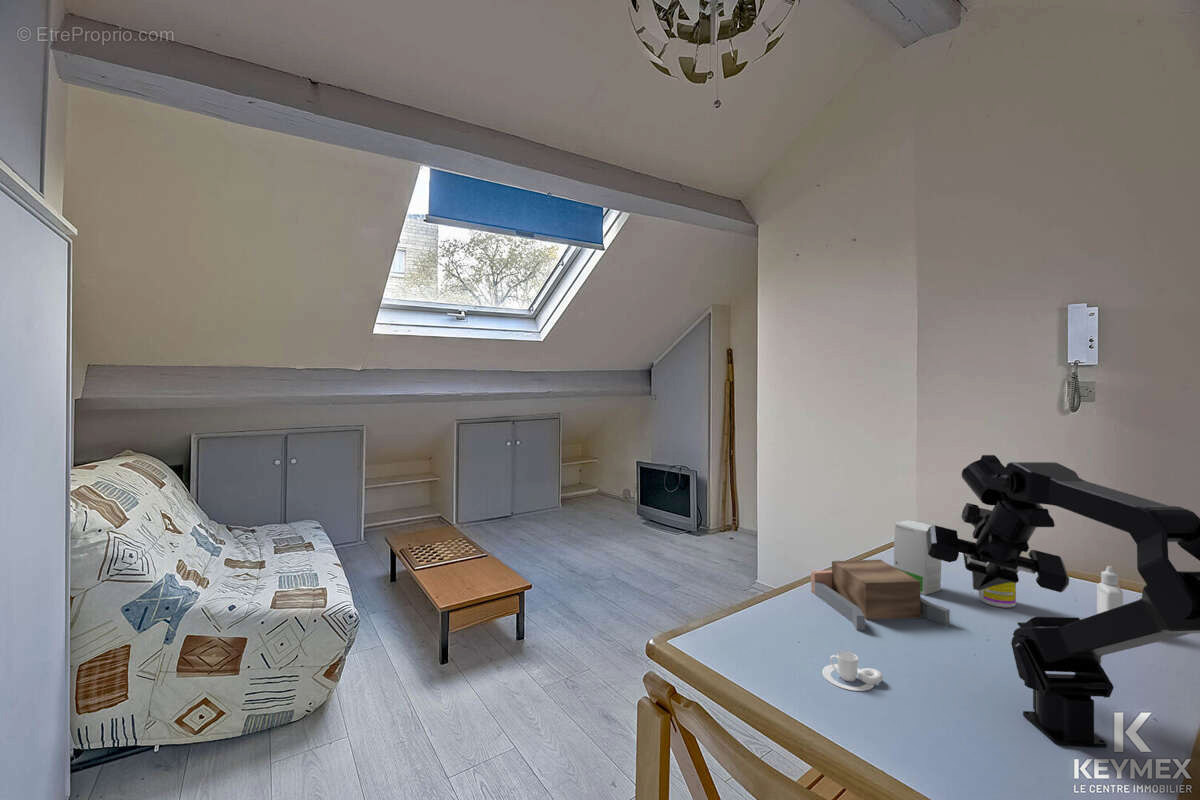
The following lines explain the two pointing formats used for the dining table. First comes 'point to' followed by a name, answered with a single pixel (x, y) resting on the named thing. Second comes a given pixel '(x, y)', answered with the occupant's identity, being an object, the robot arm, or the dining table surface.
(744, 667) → the dining table surface
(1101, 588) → the eye dropper bottle
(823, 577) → the box pocket
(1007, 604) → the supplement bottle
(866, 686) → the teacup and saucer
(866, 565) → the walnut box
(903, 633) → the dining table surface
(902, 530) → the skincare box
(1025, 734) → the dining table surface
